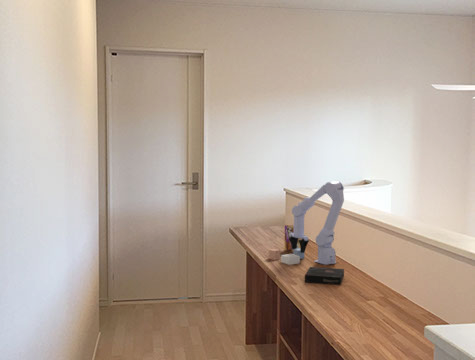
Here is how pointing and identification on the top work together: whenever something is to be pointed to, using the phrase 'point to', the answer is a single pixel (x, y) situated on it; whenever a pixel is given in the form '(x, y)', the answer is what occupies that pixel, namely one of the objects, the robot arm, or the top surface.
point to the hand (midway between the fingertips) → (298, 251)
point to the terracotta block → (274, 254)
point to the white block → (290, 259)
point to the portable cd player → (324, 275)
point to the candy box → (289, 230)
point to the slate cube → (298, 253)
